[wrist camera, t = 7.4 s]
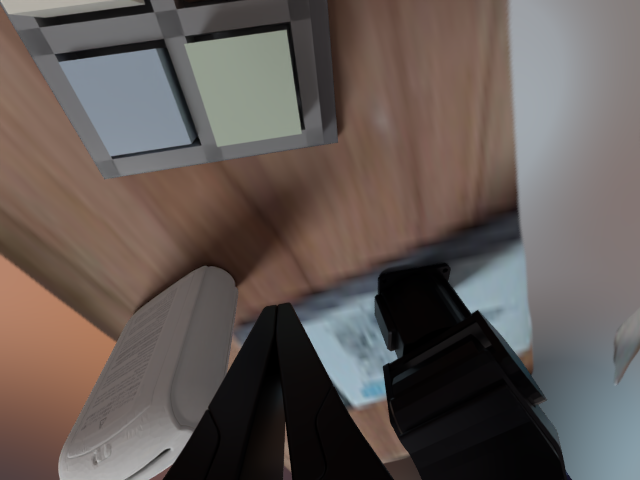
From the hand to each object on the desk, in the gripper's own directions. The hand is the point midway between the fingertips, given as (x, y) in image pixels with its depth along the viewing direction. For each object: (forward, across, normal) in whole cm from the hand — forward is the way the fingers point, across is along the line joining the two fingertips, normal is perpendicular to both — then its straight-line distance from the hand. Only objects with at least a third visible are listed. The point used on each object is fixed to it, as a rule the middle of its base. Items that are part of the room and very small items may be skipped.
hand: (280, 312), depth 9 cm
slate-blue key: (+11, +6, -6) cm, 13 cm away
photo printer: (+12, +10, +10) cm, 18 cm away
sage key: (+9, 0, -6) cm, 11 cm away
